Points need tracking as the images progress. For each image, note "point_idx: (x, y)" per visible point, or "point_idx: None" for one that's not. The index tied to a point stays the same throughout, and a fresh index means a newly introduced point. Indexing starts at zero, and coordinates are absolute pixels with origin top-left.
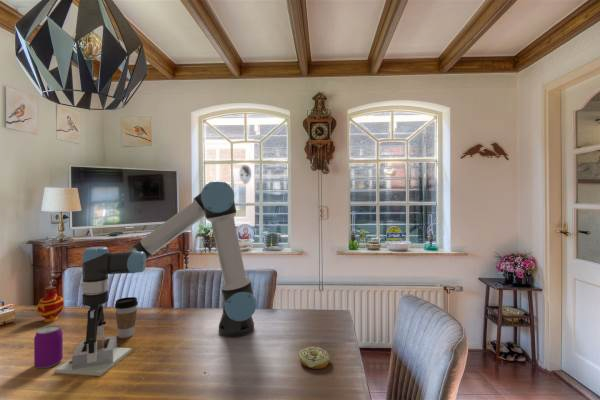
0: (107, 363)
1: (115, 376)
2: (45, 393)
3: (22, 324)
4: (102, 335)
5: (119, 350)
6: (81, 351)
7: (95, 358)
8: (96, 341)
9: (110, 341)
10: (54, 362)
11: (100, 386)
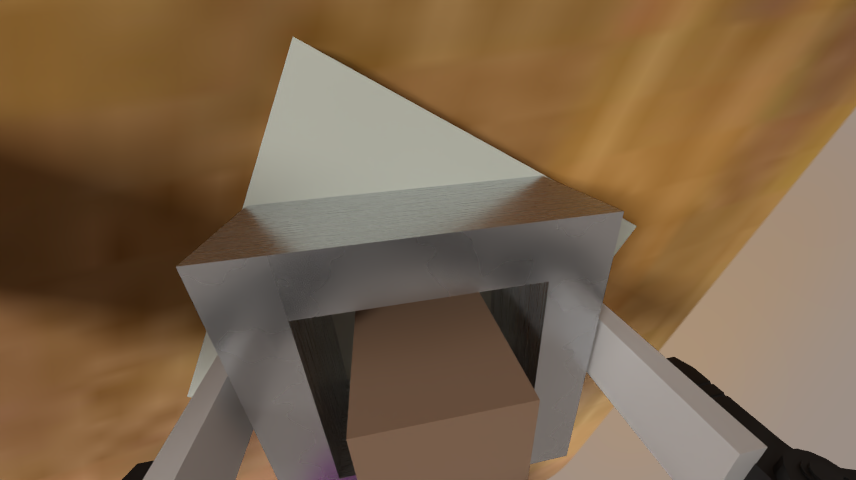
0: None
1: (682, 121)
2: None
3: None
4: (385, 444)
5: (323, 167)
6: None
7: (602, 309)
8: (762, 450)
9: (381, 292)
10: None
11: (732, 186)
